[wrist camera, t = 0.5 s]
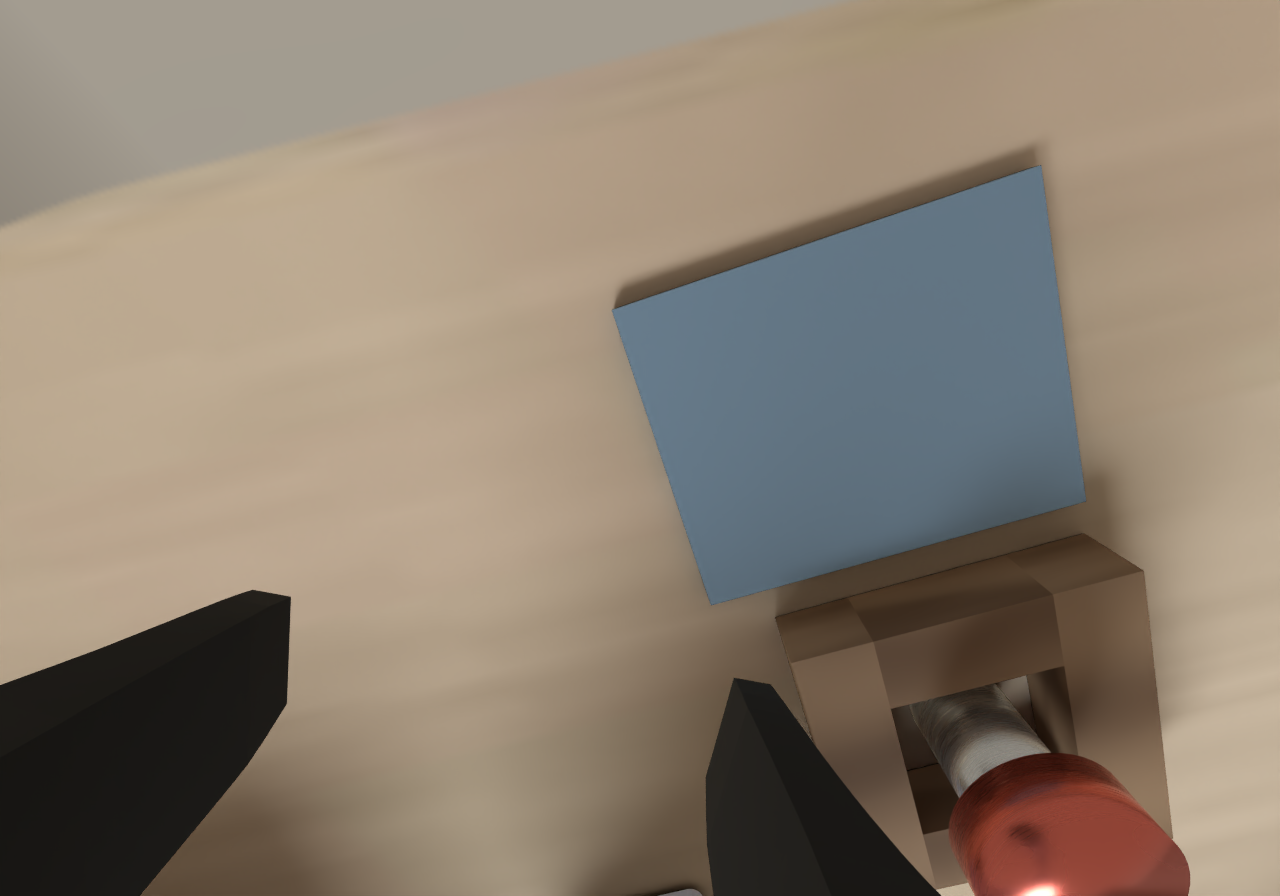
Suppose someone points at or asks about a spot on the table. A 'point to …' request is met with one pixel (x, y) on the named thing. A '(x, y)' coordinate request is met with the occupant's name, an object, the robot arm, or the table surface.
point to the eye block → (982, 678)
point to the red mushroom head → (1040, 809)
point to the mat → (863, 390)
